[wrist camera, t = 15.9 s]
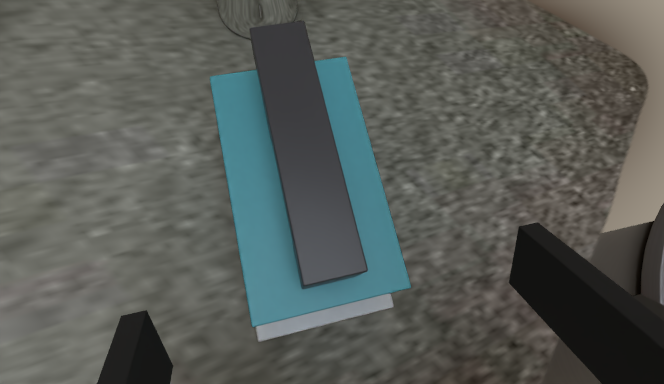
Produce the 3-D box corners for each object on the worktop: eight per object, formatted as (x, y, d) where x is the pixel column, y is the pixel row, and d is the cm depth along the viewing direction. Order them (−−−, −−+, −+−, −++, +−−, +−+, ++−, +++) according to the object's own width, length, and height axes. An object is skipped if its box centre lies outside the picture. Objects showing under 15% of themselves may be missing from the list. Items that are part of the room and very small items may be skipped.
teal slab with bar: (386, 307, 24) (458, 308, 13) (261, 339, 23) (231, 368, 12) (323, 66, 29) (339, -73, 18) (216, 82, 27) (166, -57, 17)
